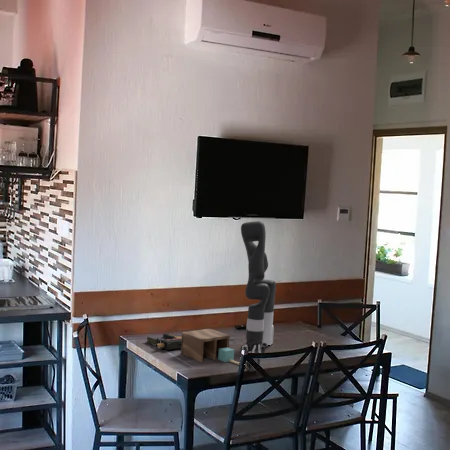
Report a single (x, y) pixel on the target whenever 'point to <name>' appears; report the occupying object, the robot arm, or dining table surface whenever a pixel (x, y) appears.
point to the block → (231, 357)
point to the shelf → (203, 343)
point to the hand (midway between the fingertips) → (252, 367)
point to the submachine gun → (166, 341)
